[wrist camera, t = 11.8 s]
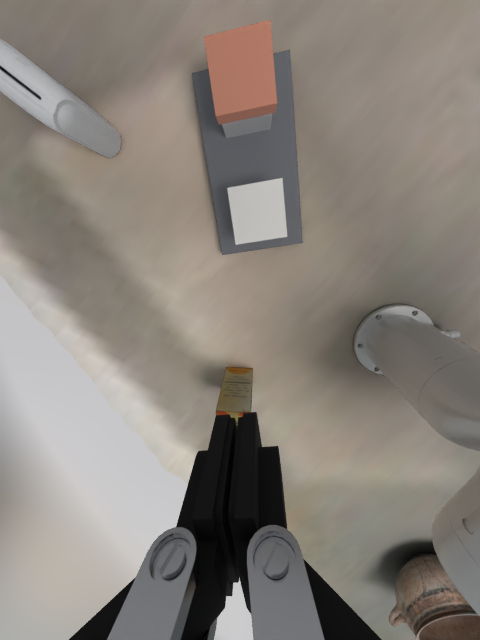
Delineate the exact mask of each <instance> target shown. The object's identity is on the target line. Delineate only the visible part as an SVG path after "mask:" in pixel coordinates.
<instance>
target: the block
mask: <svg viewBox="0 0 480 640" xmlns="http://www.w3.org/2000/svg"><path fill="white" fill-rule="evenodd" d="M273 58H274V71H275V83H276V95H277V108H276V113H271V114H266V115H261V116H257V117H252V118H247V119H243V120H238V121H233V122H229V123H224V124H218V121H217V119H216V115H215V108H214V102H213V95H212V88H211V81H210V75H209V69H208V70H204V71H199V72H195V73H192V77H193V83H194V89H195V95H196V101H197V107H198V113H199V119H200V125H201V131H202V137H203V143H204V149H205V155H206V161H207V167H208V173H209V179H210V185H211V191H212V197H213V203H214V209H215V215H216V221H217V227H218V233H219V239H220V245H221V251H222V255H226V254H232V253H239V252H246V251H252V250H259V249H265V248H272V247H279V246H285V245H292V244H299V243H303V241H302V226H301V211H300V196H299V180H298V165H297V150H296V135H295V120H294V105H293V90H292V74H291V59H290V50H287V51H283V52H279V53H275V54H273ZM279 178H283V190H284V202H285V214H286V226H287V237H283V238H276V239H270V240H263V241H257V242H250V243H244V244H237V245H236V244H235V237H234V231H233V224H232V217H231V211H230V204H229V197H228V190H227V188H230V187H235V186H241V185H246V184H252V183H257V182H263V181H268V180H273V179H279Z"/></svg>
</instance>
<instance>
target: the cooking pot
mask: <svg viewBox="0 0 480 640" xmlns="http://www.w3.org/2000/svg"><path fill="white" fill-rule="evenodd" d="M395 594H396V601H397V604H396V606H395V608H394V609H393V610H392V611H391V613H390V616H389V622H390V624H391V625H392V626H397V625H399V624H400V623H406V622H407V624H408V625H409V627H410V628H411V630H412V631H413V633H414V634H415V635H416V640H480V616H479V615H478V614H477V613H476V612H475V611H474V609H473V608H472V607H471V606H470V605H469V604H468V602H467V601H466V600H465V599H464V597H463V596H462V595H461V594H460V592H459V591H458V590H457V588H456V587H455V585H454V584H453V583H452V581H451V580H450V578H449V577H448V575H447V574H446V572H445V570H444V568H443V567H442V565H441V563H440V561H439V559H438V557H437V555H435V554H431V553H419V554H416V555H414V556H413V557H411V559H410V560H409V561H408V562H407V563H406V564H405V565H404V566H403V567H402V568H401V570H400V571H399V573H398V575H397V578H396V582H395ZM398 614H399V615H398ZM396 615H398V616H397V617H396ZM395 617H396V618H395Z"/></svg>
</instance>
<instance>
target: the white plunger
mask: <svg viewBox="0 0 480 640" xmlns="http://www.w3.org/2000/svg"><path fill="white" fill-rule="evenodd" d="M227 190H228V197H229V204H230V211H231V217H232V224H233V231H234V237H235V244H236V245H237V244H244V243H250V242H257V241H263V240H270V239H276V238H283V237H287V226H286V214H285V202H284V190H283V178H279V179H273V180H268V181H263V182H257V183H252V184H246V185H241V186H235V187H230V188H227Z"/></svg>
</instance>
